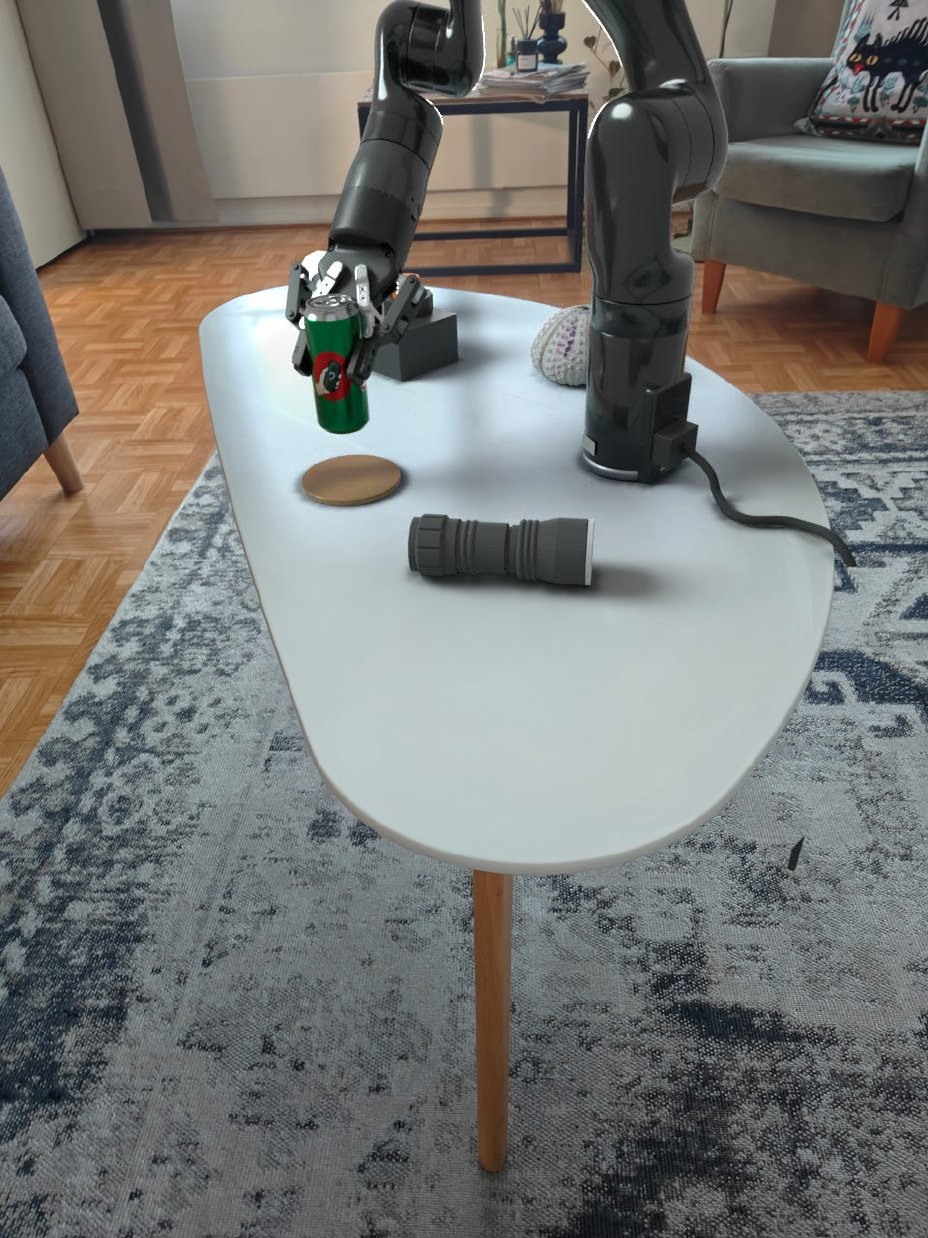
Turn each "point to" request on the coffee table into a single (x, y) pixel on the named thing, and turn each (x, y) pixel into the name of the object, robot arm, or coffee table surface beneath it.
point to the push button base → (420, 343)
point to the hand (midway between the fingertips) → (327, 376)
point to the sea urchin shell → (564, 346)
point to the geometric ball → (314, 262)
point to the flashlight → (503, 548)
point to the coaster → (351, 480)
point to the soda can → (335, 363)
